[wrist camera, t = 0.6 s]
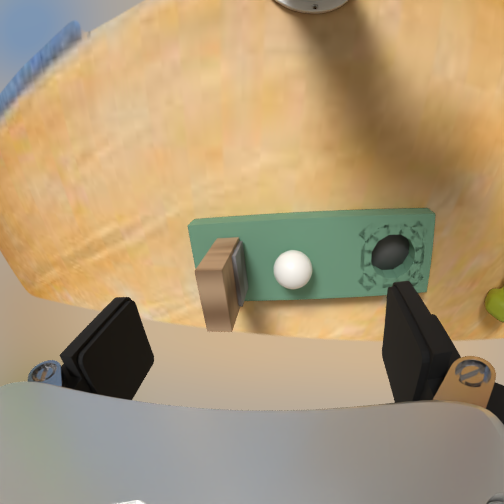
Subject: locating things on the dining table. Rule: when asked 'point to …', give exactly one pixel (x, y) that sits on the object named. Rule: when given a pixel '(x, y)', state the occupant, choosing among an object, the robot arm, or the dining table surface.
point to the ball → (292, 269)
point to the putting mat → (328, 249)
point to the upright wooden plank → (222, 283)
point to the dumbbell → (495, 303)
